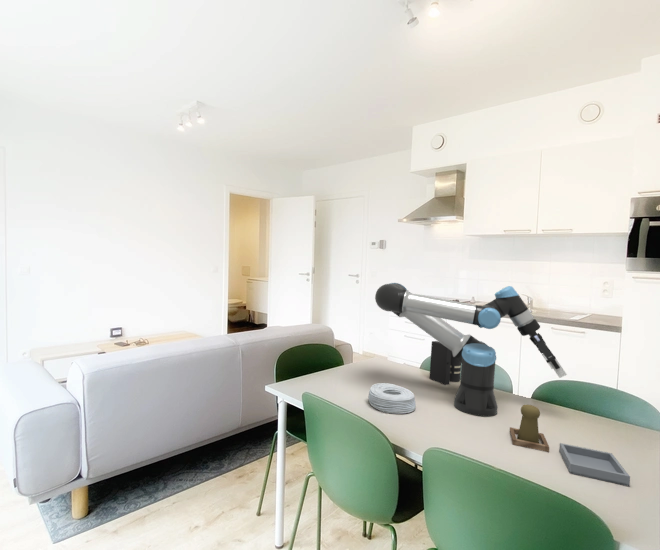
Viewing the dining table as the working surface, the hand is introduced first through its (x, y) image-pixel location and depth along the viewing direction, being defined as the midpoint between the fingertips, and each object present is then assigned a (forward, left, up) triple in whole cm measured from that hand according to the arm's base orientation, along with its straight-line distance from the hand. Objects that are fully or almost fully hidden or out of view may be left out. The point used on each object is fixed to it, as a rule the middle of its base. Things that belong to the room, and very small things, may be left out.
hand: (558, 371), depth 138 cm
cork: (-14, -34, -15) cm, 40 cm away
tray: (0, -43, -15) cm, 46 cm away
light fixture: (-41, +19, -16) cm, 48 cm away
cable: (-58, -26, -16) cm, 65 cm away
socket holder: (-14, -34, -15) cm, 40 cm away
